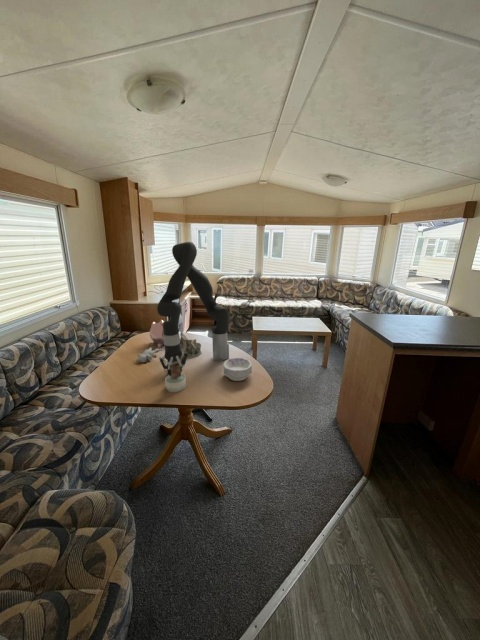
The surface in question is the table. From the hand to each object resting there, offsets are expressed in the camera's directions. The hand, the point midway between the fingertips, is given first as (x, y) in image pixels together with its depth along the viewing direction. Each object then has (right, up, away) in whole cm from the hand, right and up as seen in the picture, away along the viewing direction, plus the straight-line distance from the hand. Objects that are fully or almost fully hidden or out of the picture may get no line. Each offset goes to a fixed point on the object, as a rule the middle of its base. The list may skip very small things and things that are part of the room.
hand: (174, 373), depth 130 cm
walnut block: (0, -1, 0) cm, 1 cm away
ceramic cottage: (-1, +4, +38) cm, 38 cm away
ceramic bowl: (0, -7, +2) cm, 7 cm away
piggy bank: (-24, +10, +57) cm, 63 cm away
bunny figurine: (-25, +2, +34) cm, 43 cm away
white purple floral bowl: (+31, -4, +11) cm, 34 cm away
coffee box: (-4, -1, +21) cm, 21 cm away
